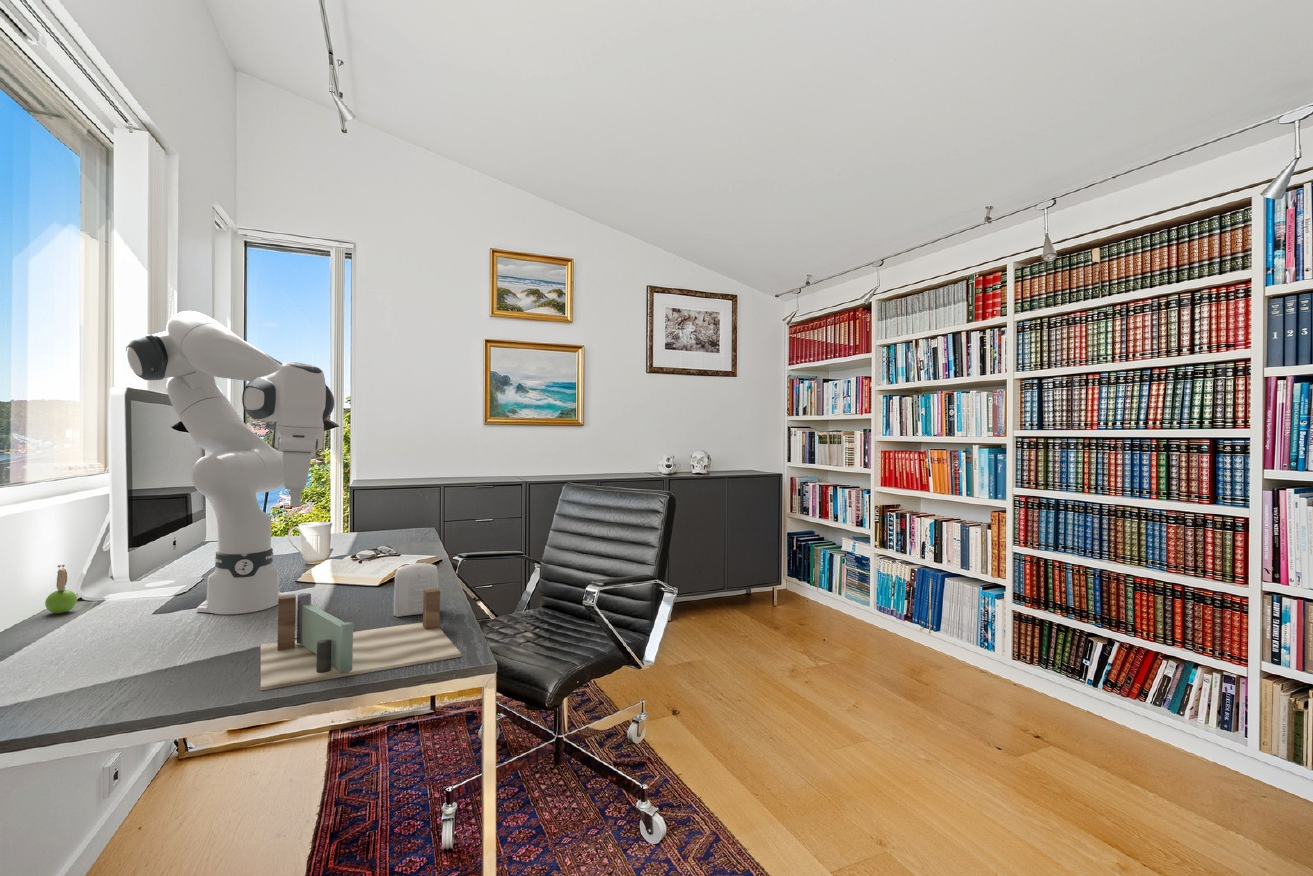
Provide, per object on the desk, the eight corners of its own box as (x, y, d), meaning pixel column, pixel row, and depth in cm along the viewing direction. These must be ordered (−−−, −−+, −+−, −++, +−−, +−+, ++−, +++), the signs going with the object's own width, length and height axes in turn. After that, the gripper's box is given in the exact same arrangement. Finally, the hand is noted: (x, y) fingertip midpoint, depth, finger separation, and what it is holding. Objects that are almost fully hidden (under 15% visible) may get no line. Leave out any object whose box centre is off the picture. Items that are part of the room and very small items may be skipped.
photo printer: (434, 608, 159) (436, 560, 159) (439, 612, 156) (440, 563, 156) (391, 614, 154) (392, 564, 153) (395, 618, 150) (396, 567, 150)
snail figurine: (43, 618, 142) (44, 566, 142) (45, 612, 147) (46, 561, 147) (76, 614, 146) (77, 563, 146) (77, 608, 151) (78, 558, 150)
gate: (295, 641, 129) (295, 594, 129) (307, 639, 131) (308, 592, 131) (341, 673, 114) (343, 620, 114) (355, 669, 116) (356, 617, 116)
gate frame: (260, 647, 129) (261, 594, 129) (433, 623, 147) (434, 577, 147) (260, 690, 109) (261, 627, 108) (461, 656, 127) (462, 602, 127)
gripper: (285, 436, 139) (281, 498, 140) (278, 442, 121) (274, 513, 121) (317, 438, 142) (313, 498, 142) (315, 444, 124) (311, 513, 124)
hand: (295, 505), depth 132 cm, fingers closed
